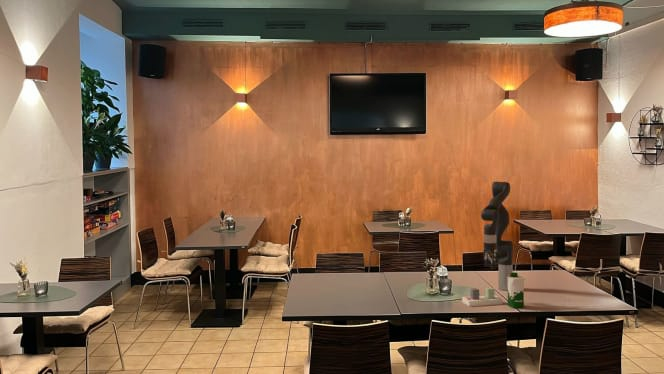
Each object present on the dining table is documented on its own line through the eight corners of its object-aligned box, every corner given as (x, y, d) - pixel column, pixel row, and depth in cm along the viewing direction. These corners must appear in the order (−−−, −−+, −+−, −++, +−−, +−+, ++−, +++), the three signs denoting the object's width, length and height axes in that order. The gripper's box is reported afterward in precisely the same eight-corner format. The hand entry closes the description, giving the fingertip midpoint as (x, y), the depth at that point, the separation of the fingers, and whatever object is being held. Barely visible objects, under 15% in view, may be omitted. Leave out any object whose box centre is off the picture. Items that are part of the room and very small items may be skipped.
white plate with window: (495, 299, 357) (495, 285, 357) (503, 304, 346) (503, 289, 346) (462, 301, 354) (462, 287, 353) (469, 306, 343) (469, 291, 342)
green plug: (491, 301, 353) (491, 287, 353) (494, 303, 349) (494, 288, 349) (485, 301, 353) (485, 287, 352) (488, 303, 349) (488, 289, 348)
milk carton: (518, 304, 346) (518, 271, 345) (526, 308, 337) (526, 275, 336) (505, 305, 344) (505, 272, 343) (513, 309, 336) (513, 275, 334)
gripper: (500, 243, 342) (500, 269, 343) (490, 239, 356) (490, 265, 357) (489, 243, 341) (489, 270, 342) (479, 240, 355) (479, 265, 356)
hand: (490, 267), depth 350 cm, fingers open, 8 cm apart
